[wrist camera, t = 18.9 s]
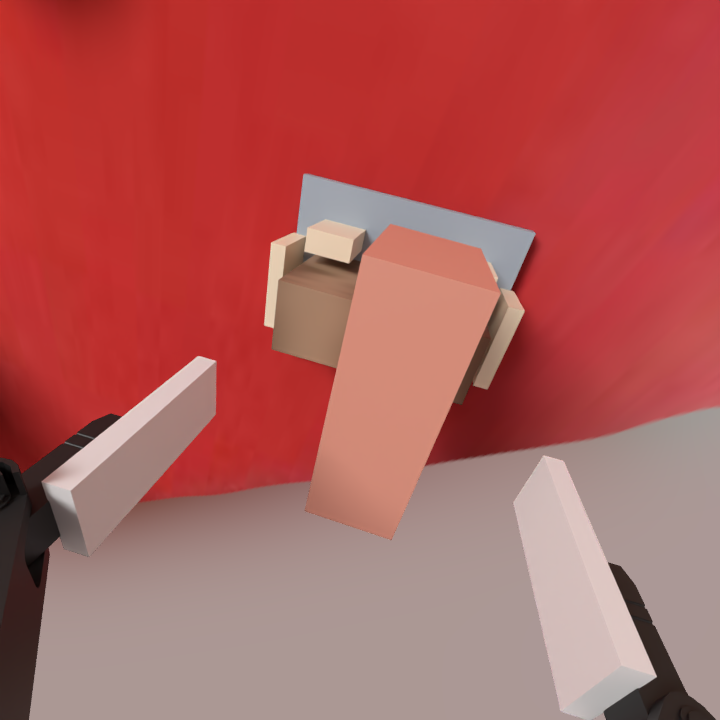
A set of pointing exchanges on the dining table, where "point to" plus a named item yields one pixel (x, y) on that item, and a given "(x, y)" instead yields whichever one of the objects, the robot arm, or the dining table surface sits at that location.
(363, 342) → the salmon pink block
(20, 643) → the robot arm
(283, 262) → the jig
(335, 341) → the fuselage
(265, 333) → the dining table surface
